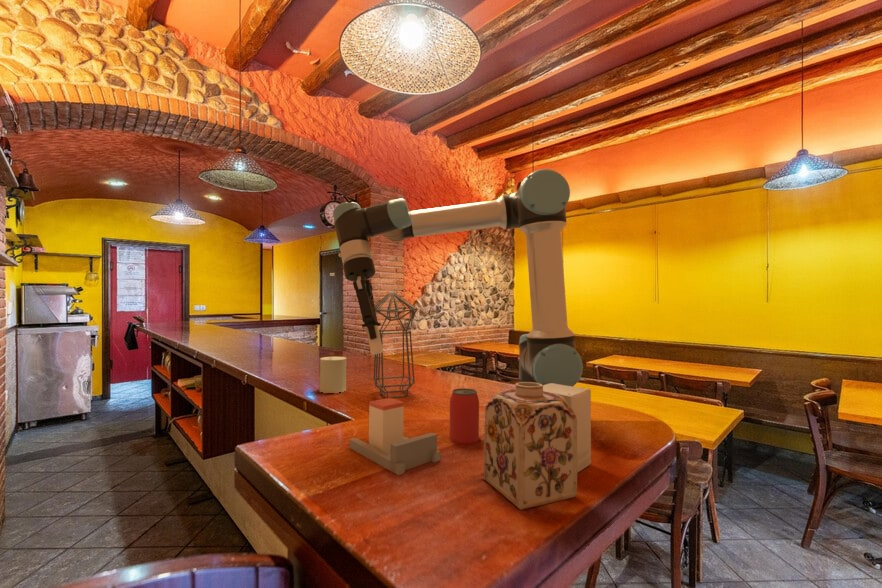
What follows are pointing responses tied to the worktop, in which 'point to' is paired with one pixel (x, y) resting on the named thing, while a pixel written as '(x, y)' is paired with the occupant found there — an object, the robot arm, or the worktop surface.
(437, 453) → the grey tray
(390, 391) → the geometric lantern
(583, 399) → the supplement box
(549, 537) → the worktop surface
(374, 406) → the block
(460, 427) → the beer can
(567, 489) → the decorative jar
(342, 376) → the can
